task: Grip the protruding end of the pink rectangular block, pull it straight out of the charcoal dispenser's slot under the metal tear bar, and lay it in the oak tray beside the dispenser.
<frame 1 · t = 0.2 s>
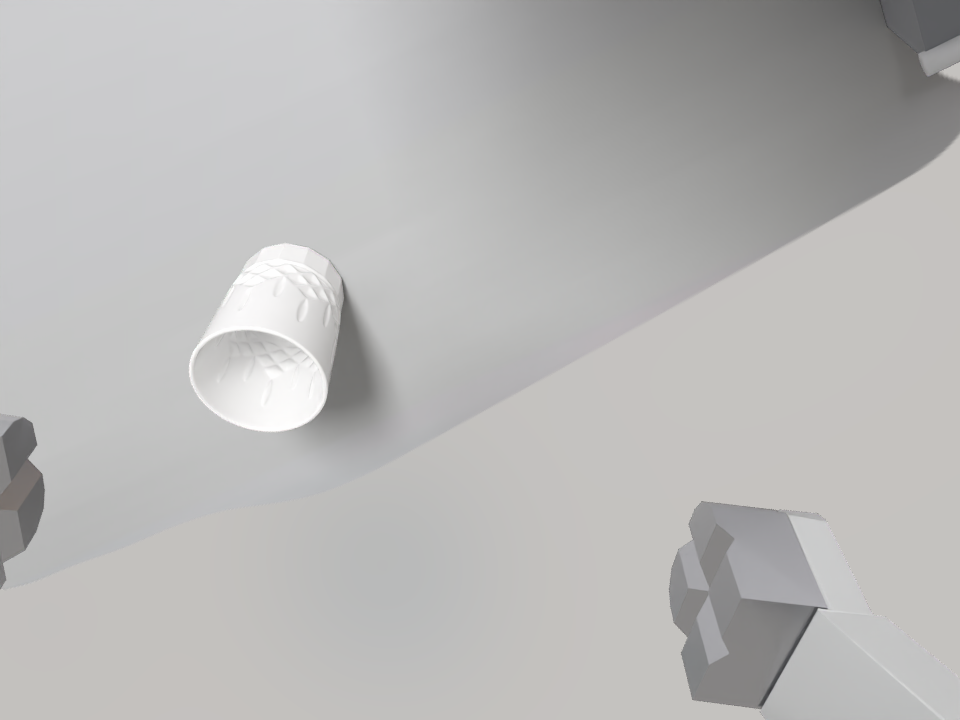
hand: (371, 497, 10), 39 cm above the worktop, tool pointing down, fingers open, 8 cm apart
white cup: (294, 284, 55), on the worktop
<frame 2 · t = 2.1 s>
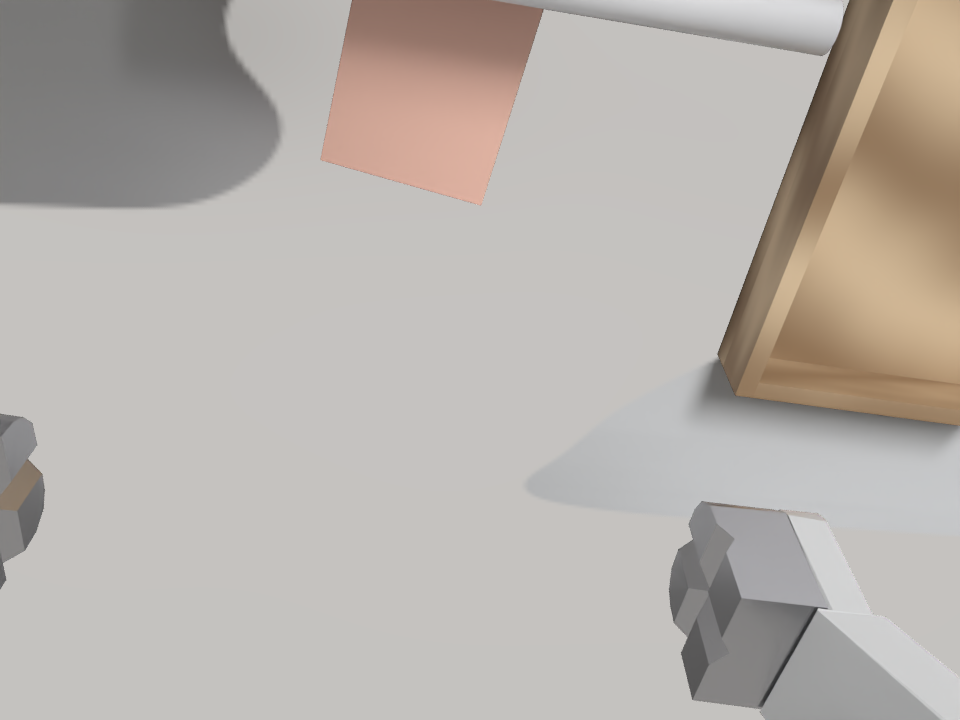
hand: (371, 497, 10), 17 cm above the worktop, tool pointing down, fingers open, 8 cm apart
tray: (953, 165, 25), on the worktop
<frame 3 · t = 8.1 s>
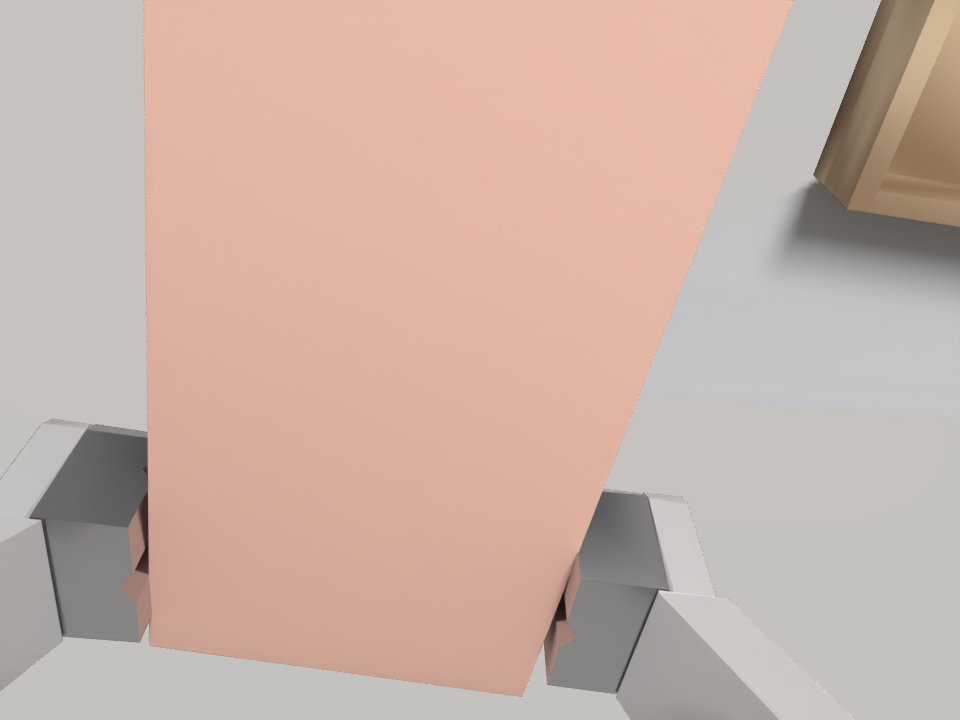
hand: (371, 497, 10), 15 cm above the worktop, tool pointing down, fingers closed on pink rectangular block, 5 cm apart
pink rectangular block: (437, 139, 10), point 12 cm above the worktop, touching gripper
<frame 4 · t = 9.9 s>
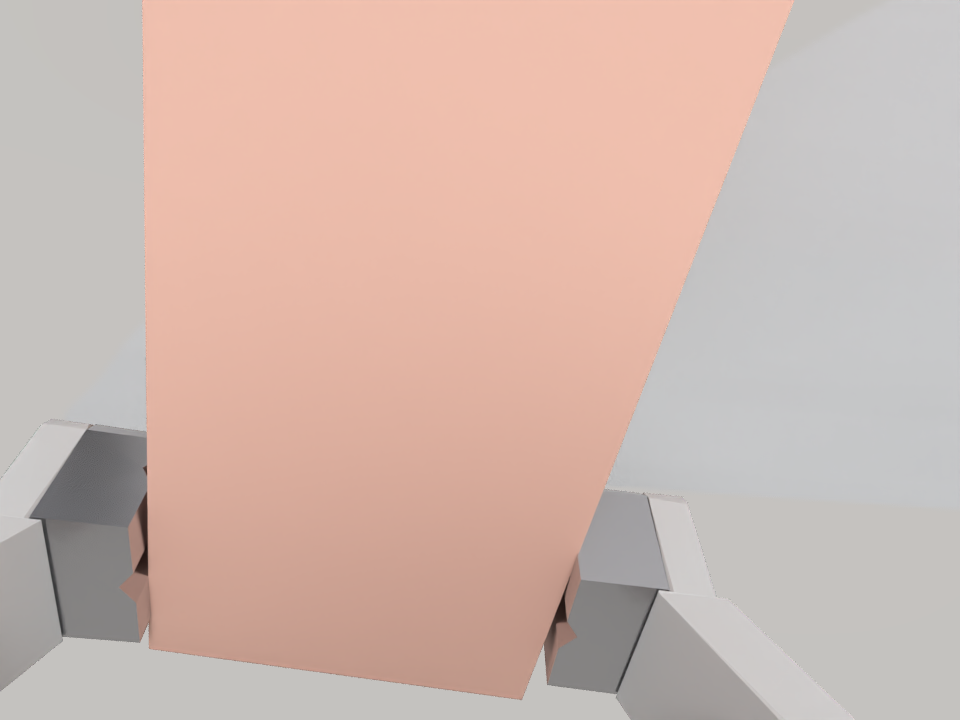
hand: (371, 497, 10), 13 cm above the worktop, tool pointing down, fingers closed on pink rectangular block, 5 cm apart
pink rectangular block: (436, 142, 10), point 11 cm above the worktop, touching gripper
when the fingers open (4 cm above the worktop, at t = 11.7 s): pink rectangular block drops 1 cm, resting on tray.
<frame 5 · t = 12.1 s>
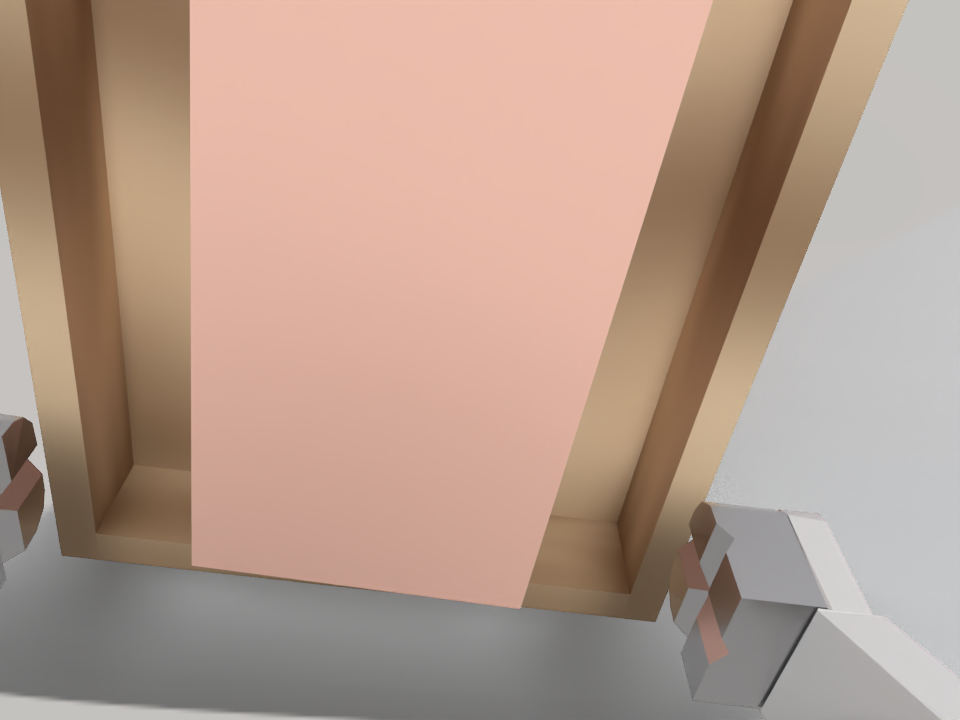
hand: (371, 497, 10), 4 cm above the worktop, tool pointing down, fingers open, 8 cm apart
pink rectangular block: (435, 116, 11), point 1 cm above the worktop, touching tray
tray: (432, 83, 12), on the worktop
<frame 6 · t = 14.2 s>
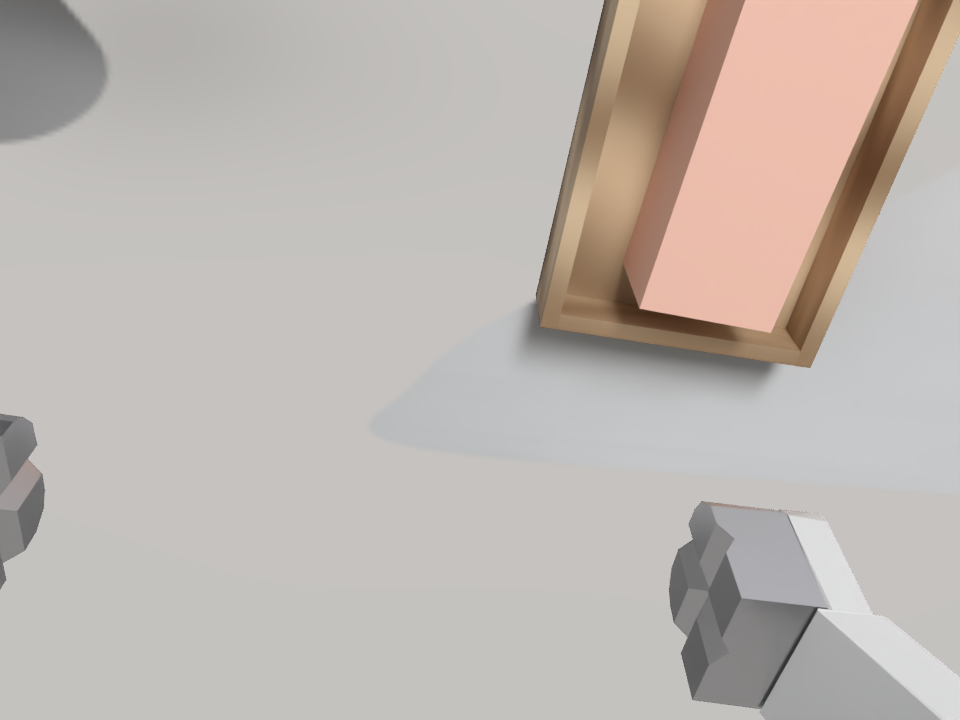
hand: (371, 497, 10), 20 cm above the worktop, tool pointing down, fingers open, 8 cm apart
pink rectangular block: (737, 125, 27), point 1 cm above the worktop, touching tray
tray: (730, 111, 28), on the worktop
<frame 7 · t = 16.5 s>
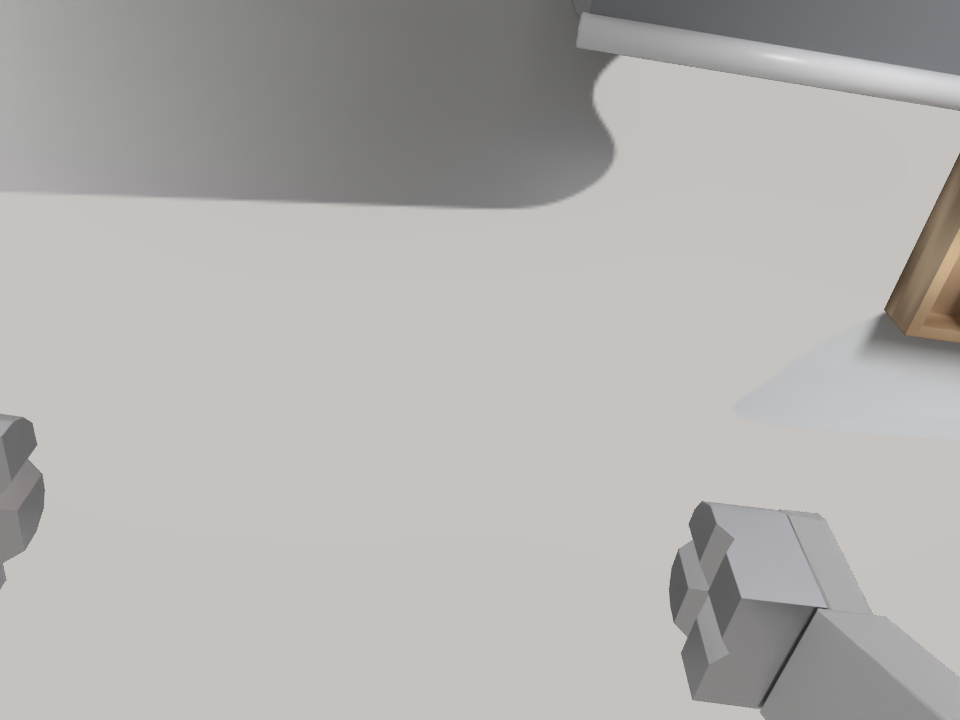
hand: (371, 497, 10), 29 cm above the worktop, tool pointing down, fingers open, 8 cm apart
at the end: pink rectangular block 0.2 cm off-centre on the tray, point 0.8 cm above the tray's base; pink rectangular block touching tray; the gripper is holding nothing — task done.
